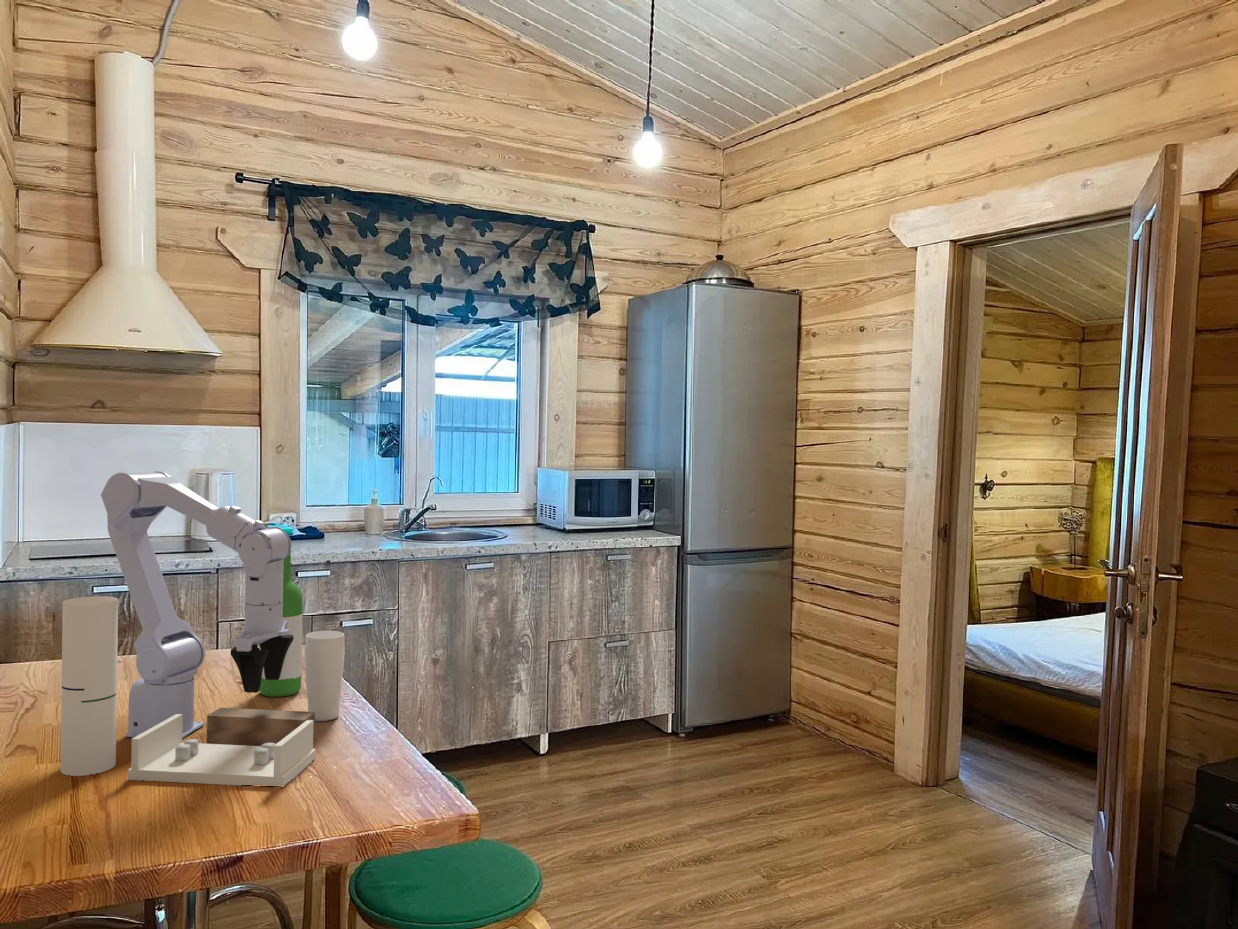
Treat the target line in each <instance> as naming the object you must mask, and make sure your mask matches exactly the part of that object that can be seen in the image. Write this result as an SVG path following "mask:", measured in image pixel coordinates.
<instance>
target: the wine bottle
mask: <svg viewBox="0 0 1238 929" xmlns="http://www.w3.org/2000/svg"><path fill="white" fill-rule="evenodd" d="M290 541H291V542H292V539H290ZM291 556H292V549H291V550H290V553H289V555H288V556H287V557H286V558H285V559H284V566H283V610H282V621H288V629H289V634H287V635H293V641H292V643H291V645H290V646H289V649H288V651H287V653H286V656H285V659H284V663H283V667H282V671H281V675H280V678H279V679H278V680H266V678H265V674H264V667H263V671H262V679H261V686H260V689H259V693H260V694H262V695H263V696H265V697H269V698H283V696H284V697H289V696H292V695H295V694H298V692H299V691H300V690H301V688H302V668H303V667H302V664H303V663H302V661H303V659H302V658H303V655H302V654H303V605H304V603H303V601H304V600H303V594H302V593H303V592H302V590H301V588H300V587H299V586H298V585H297V584H296V583H295V582H294V581H293V580H292V578H291V577H292V576H291V570H292V568H291V566H292V564H291V563H292V560H291V559H292V557H291ZM259 650H261V648H260V647H259Z"/></svg>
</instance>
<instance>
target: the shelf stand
mask: <svg viewBox="0 0 1238 929" xmlns="http://www.w3.org/2000/svg"><path fill="white" fill-rule="evenodd" d="M313 724H314V720H307V721H305V722H304V723H303V724H301V725H300V726H299V727H298V728H296V729H295V730H294V731H292V732H291V733H290V734H289V735H287V736H286V737H285V738H283V739H282V740H281V741H280V742H278V743H277V744H275V743H264V744H262V745H261V746H244V745H223V744H207V743H201V742H200V743H199V739H197V738H190V739H186V740H184V741H183V738H182V729H183V714H176V715H174V716H172V717H170V718H168V719H167V720H165V721H163V722H161V723H159V724H158V725H156V726H154V727H152V728H150V729H149V730H147V731H145V732H143V733H141V734H140V735H138V736H136V737H131V758H130V759H131V763H130V764H131V765H130V766H131V767H130V768H128V769H127V780H128V781H142V782H144V781H145V782H163V783H183V784H205V785H221V786H222V785H224V786H241V785H266V786H284V785H286V784H287V783H288V782H289V781H290V782H292V781H293V780H294V779H295V778H296V777H297V776H299V775H300V774H301V773H302V772H303V771H304V770H305V769H306V768H307V767H308V766H309V765H310V764H312V763H313V762H314V761H315V760H316V759H317V749H316V748H314V741H313ZM313 760H314V761H313ZM312 761H313V762H312ZM292 779H293V780H292ZM143 780H144V781H143ZM291 780H292V781H291ZM290 782H289V783H290ZM289 783H288V784H289ZM288 784H287V785H288ZM287 785H286V786H287Z"/></svg>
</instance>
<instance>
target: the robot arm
mask: <svg viewBox="0 0 1238 929" xmlns="http://www.w3.org/2000/svg"><path fill="white" fill-rule="evenodd" d="M100 498H101V500H102V502H103V505H104V508H105V510H106V514H107V515H106V516H107V532H108V536H109V539H110V541H111V545H112V547H113V550H114V553H115V555H116V558H117V561H118V564H119V566H120V569H121V572H122V574H123V577H124V581H125V583H126V587H127V589H128V592H129V594H130V598H131V600H132V603H133V605H134V609H135V612H136V614H137V617H138V620H139V622H140V626H141V628H142V629H141V632H140V633H139V634H138V637H137V638H136V639H135V641H134V643H133V647H134V649H135V653H136V659H135V660H136V661H135V664H136V665H135V666H136V669H137V672H138V674H139V676H140V677H141V678H138V679H137V680H136V681H134V683H133V684H132V686H131V688H130V691H129V695H128V721H127V722H128V725H127V726H128V728H127V730H128V731H127V732H126V733H125V737H127V738H134V737H136V736H138V735H140V734H141V733H143V732H145V731H147V730H149V729H150V728H152V727H154V726H156V725H158V724H159V723H161V722H163V721H165V720H167V719H168V718H170V717H172V716H174V715H176V714H183V729H182V739H183V738H185V737H186V736H188V735H190V734H191V733H193V732H194V731H197V730H199V729H200V728H201V727H203V726H205V722H204V721H195V678H196V675H198V669H199V667H201V665H202V664H203V662H204V660H205V656H206V649H205V646H204V644H203V642H202V640H201V639H200V638H199V637H198V636H197V634H196V633H195V632H194V629H193V627H192V625H191V624H190V623H189V622H187V621H185V620H183V619H181V618H180V617H179V616H178V615H177V611H176V609H175V607H174V604H173V601H172V598H171V595H170V592H169V590H168V586H167V584H166V581H165V578H164V576H163V572H162V569H161V567H160V565H159V561H158V559H157V556H156V553H155V550H154V548H153V545H152V542H151V538H150V536H149V533H148V529H149V528H150V526H151V524H152V523H153V522H154V521H155V520H156V519H157V518H158V517H159V515H161V514H162V513H163V511H164V510H165V509H166V508H167V507H168V508H170V509H172V510H173V511H176V512H178V513H179V514H182V515H184V516H186V517H188V518H190V519H192V520H194V521H196V522H198V523H200V524H202V525H204V526H205V528H206V533H207V536H209V537H210V538H212V539H215V540H216V541H218V542H219V543H221V544H222V545H225V546H226V547H228V548H230V549H232V550H233V551H235V552H236V553H238V557H239V559H240V560H241V562H242V564H243V573H245V591H244V592H245V595H244V596H245V598H244V601H245V603H244V629H243V630H242V632H241V634H240V636H239V637H238V638H236V646H235V647H232V648H231V649H230V656H231V658H232V659H233V661H234V662H235V665H236V667H237V669H238V671H239V675H240V679H241V683H242V687H243V690H244V693H260V690H259V689H260V686H261V679H262V671H263V667H264V674H265V678H266V680H278V679H279V678H280V675H281V671H282V667H283V663H284V659H285V656H286V653H287V651H288V649H289V646H290V645H291V643H292V641H293V635H287V634H289V629H288V621H282V610H283V566H284V559H285V558H286V557H287V556H288V555H289V553H290V550H291V551H292V540H291V538H290V536H289V534H287V532H286V531H285V530H283V529H282V528H281V527H280V526H271V527H266V526H265V522H264V521H262V520H255V519H253V518H251V517H250V516H248V515H246V514H244V513H243V512H242V508H241V507H239V506H237V505H231V506H229V505H225V506H220V507H217V506H216V505H214V504H213V503H211V502H209V501H208V500H206V499H205V498H203V497H202V496H200V495H198V494H197V493H196V492H194V491H192V490H191V489H190V488H188V487H186V486H185V485H183V484H182V483H181V482H180V481H179V479H178V478H177V477H175V476H170V475H169V474H168V473H166V472H164V471H161V470H159V471H158V470H157V471H156V470H155V471H152V472H151V471H150V472H129V473H128V472H117V473H114V474H113V475H111V476H110V478H108V480H107V481H106V483H105V485H104V488H103V489H102V492H101V493H100ZM290 540H291V541H290ZM258 646H259V647H258ZM260 648H261V650H260Z"/></svg>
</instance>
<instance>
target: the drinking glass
mask: <svg viewBox="0 0 1238 929" xmlns="http://www.w3.org/2000/svg"><path fill="white" fill-rule="evenodd" d="M345 638H346V637H345V633H344V632H342V631H339V630H319V631H312V632H308V633H306V634H305V640H304V668H305V681H306V695H307V697H306V698H307V712H315V722H328V721H333V720H335V719H337V718H338V717H339V715H340V702H341V694H342V693H341V691H342V690H341V689H342V681H343V673H344V665H345V652H346V646H345V645H346V642H345V641H346V640H345Z"/></svg>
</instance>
